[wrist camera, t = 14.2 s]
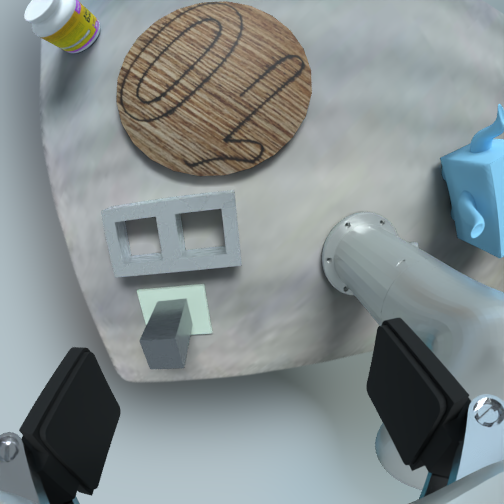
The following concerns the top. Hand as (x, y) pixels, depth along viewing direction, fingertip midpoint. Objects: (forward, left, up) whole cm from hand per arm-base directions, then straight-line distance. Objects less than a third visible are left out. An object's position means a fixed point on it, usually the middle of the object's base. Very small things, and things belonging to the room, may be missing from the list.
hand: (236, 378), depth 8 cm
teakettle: (-39, -3, -31) cm, 50 cm away
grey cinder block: (+8, +2, -30) cm, 31 cm away
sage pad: (+10, +14, -30) cm, 35 cm away
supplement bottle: (+20, -30, -31) cm, 47 cm away
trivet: (+1, -17, -31) cm, 35 cm away
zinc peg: (+10, +14, -30) cm, 34 cm away
